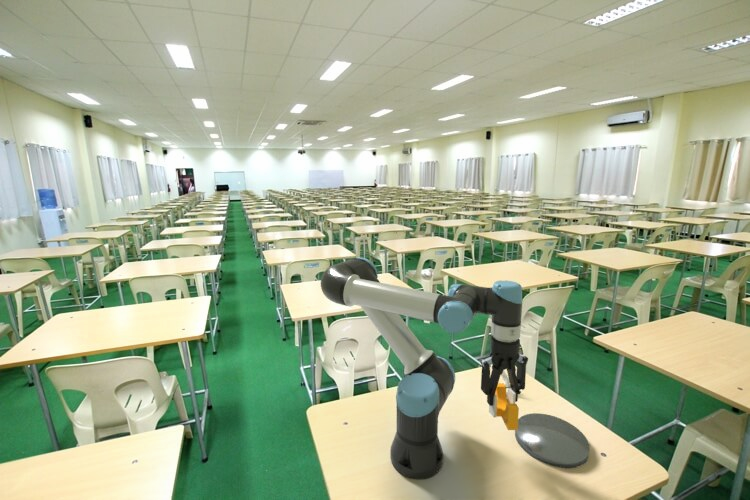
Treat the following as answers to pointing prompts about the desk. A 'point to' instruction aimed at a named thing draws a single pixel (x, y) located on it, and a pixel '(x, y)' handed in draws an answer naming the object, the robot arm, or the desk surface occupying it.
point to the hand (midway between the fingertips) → (501, 412)
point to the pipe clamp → (506, 408)
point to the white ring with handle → (505, 380)
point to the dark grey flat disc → (552, 440)
